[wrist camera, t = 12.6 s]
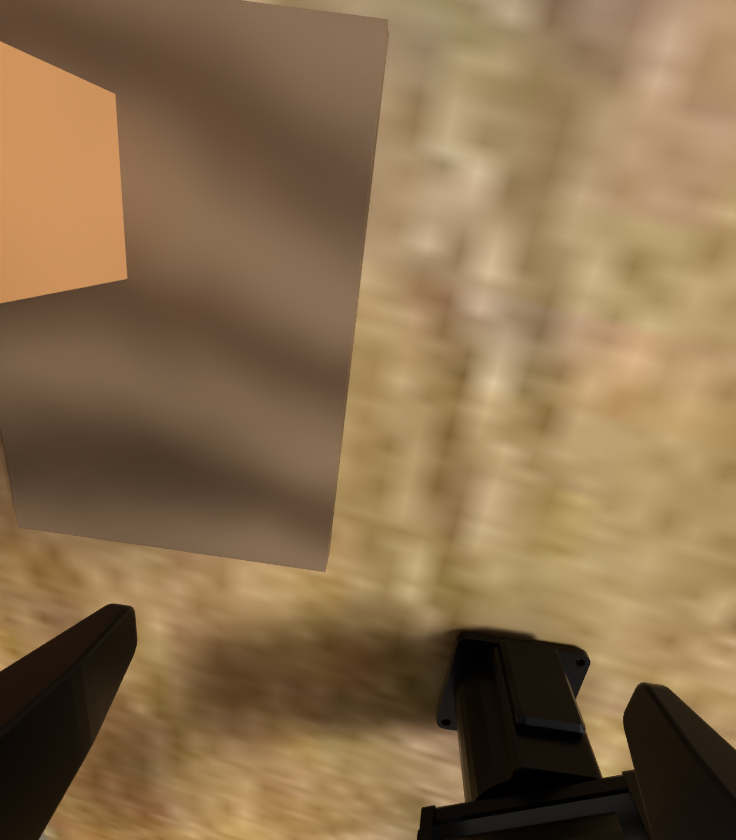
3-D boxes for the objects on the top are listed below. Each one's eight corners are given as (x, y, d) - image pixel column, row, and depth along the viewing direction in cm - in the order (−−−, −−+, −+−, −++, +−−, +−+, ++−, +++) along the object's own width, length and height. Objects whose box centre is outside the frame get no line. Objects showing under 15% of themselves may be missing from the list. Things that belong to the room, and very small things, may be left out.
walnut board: (328, 555, 22) (325, 572, 21) (37, 512, 23) (18, 527, 22) (388, 35, 15) (387, 19, 14) (-52, -23, 15) (-89, -42, 14)
